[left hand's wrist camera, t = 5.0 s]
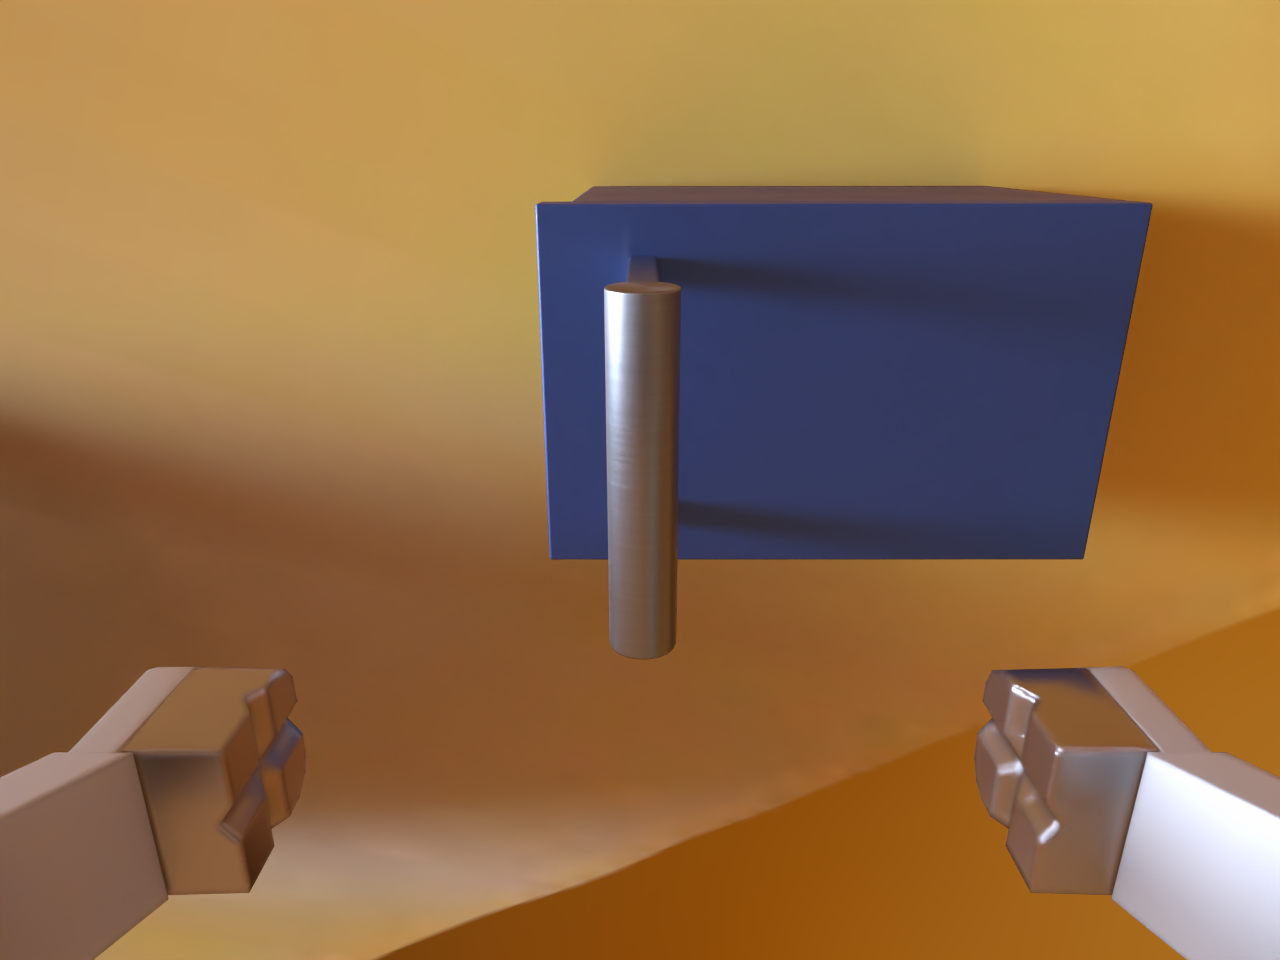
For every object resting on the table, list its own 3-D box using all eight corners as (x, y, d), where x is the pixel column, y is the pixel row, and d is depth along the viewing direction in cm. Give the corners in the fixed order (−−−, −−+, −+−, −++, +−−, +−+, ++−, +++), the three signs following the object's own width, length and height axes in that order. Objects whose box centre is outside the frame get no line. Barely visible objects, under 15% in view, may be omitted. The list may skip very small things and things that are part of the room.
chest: (596, 438, 36) (579, 543, 26) (591, 186, 33) (570, 201, 23) (952, 438, 36) (1066, 543, 26) (985, 185, 33) (1130, 200, 23)
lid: (553, 544, 26) (516, 705, 19) (539, 201, 23) (488, 227, 15) (1067, 544, 26) (1241, 705, 19) (1131, 200, 23) (1377, 226, 15)
